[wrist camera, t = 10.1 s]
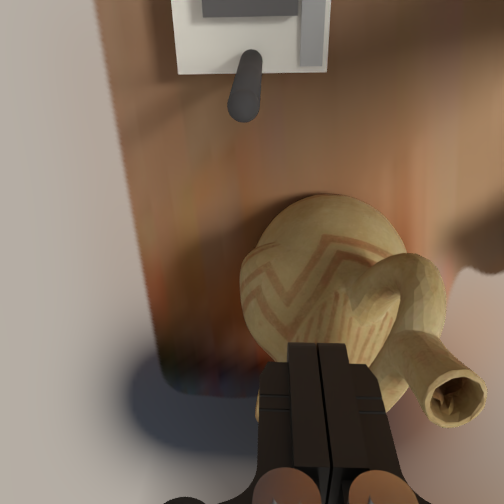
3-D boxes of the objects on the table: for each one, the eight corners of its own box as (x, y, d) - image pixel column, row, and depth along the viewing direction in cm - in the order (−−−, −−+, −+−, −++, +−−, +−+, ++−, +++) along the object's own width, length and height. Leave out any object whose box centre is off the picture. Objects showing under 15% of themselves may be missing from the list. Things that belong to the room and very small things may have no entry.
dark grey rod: (240, 47, 34) (225, 93, 22) (262, 47, 34) (259, 92, 22) (241, 71, 35) (227, 127, 23) (262, 70, 34) (259, 126, 23)
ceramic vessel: (209, 293, 49) (165, 543, 28) (294, 125, 40) (324, 314, 19) (350, 345, 53) (404, 605, 32) (460, 202, 43) (645, 438, 22)
